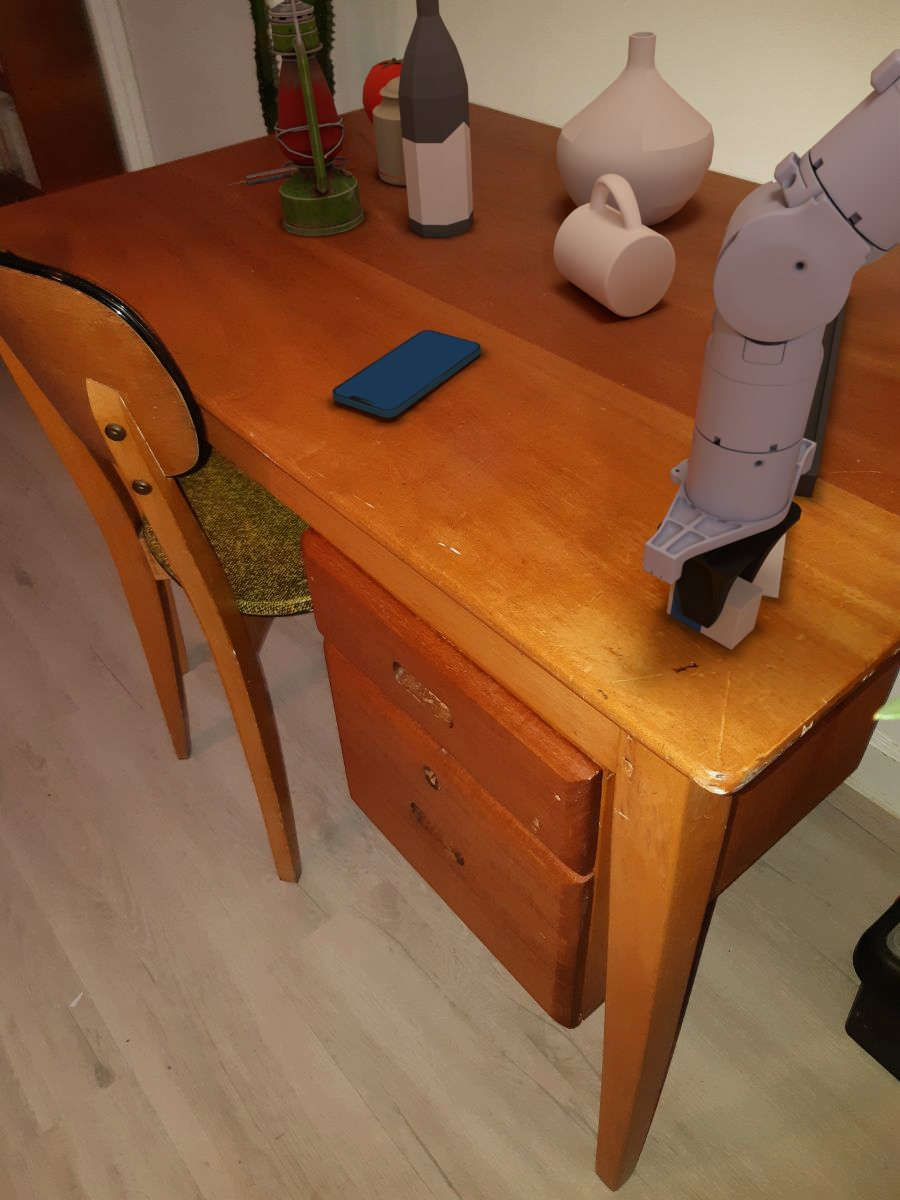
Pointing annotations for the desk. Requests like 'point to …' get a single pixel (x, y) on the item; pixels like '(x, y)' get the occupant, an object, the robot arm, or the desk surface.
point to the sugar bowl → (389, 135)
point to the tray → (821, 401)
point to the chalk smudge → (771, 570)
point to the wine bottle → (435, 128)
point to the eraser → (725, 613)
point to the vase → (638, 139)
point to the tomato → (379, 83)
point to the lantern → (309, 131)
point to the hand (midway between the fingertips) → (712, 605)
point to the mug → (614, 251)
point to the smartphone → (406, 373)
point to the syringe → (281, 176)
